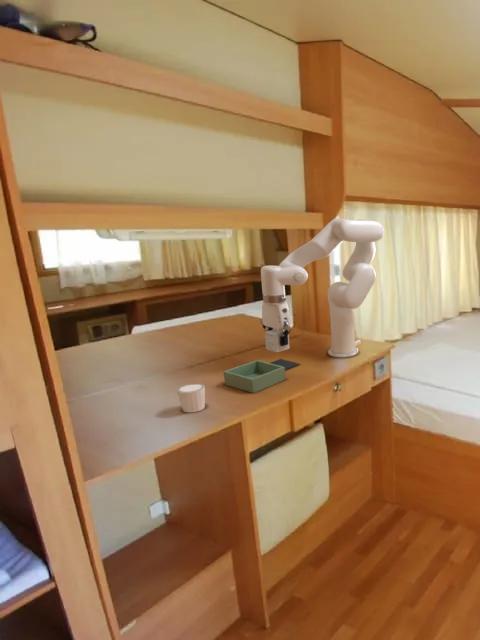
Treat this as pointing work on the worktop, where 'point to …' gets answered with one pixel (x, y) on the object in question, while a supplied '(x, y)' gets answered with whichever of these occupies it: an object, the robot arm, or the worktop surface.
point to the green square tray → (254, 376)
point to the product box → (274, 341)
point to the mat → (285, 363)
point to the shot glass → (192, 397)
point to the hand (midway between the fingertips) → (277, 343)
